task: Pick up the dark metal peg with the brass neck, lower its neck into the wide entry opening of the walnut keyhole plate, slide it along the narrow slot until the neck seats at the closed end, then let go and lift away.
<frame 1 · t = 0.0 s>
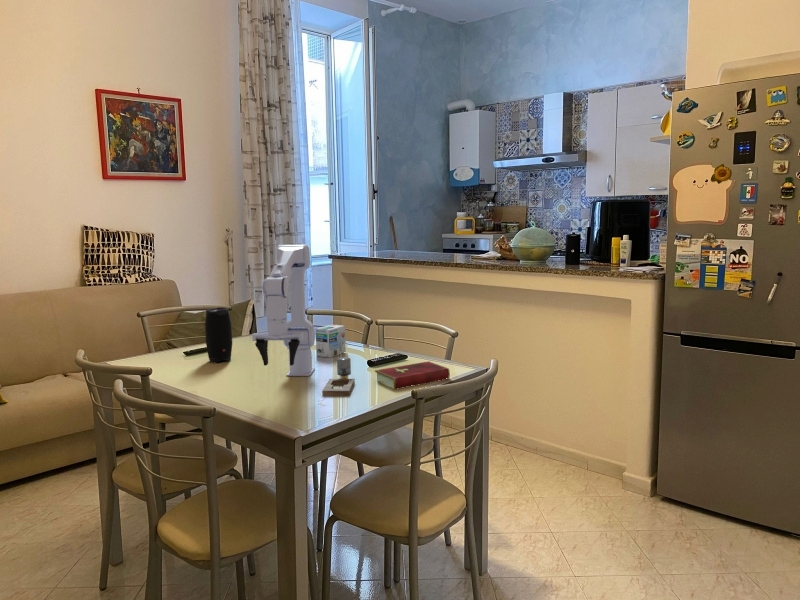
hand: (279, 364, 177), 10 cm above the table, tool pointing down, fingers open, 7 cm apart
peg: (344, 379, 198), on the table
hardcover book: (412, 381, 196), on the table
light bulb box: (331, 354, 233), on the table
portable speaker: (220, 361, 225), on the table
keyhole plate: (339, 389, 186), on the table
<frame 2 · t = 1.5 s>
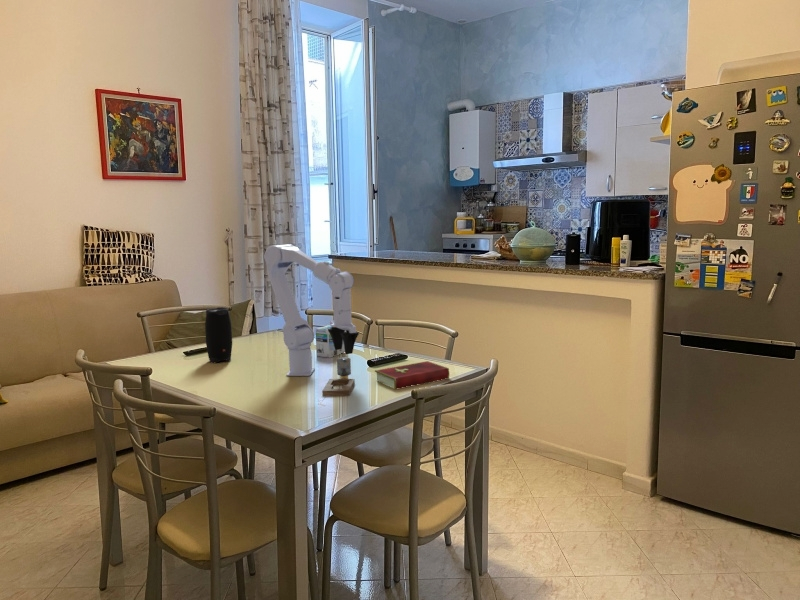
hand: (343, 351, 196), 9 cm above the table, tool pointing down, fingers open, 7 cm apart
nothing on the table moved.
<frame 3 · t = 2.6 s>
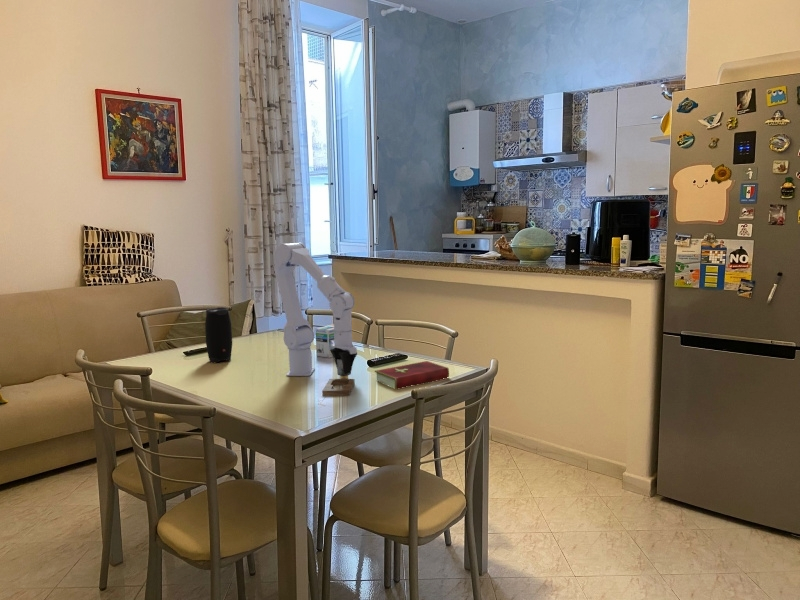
hand: (344, 371, 197), 3 cm above the table, tool pointing down, fingers closed on peg, 4 cm apart
peg: (344, 379, 198), on the table, touching gripper
everything else where it was.
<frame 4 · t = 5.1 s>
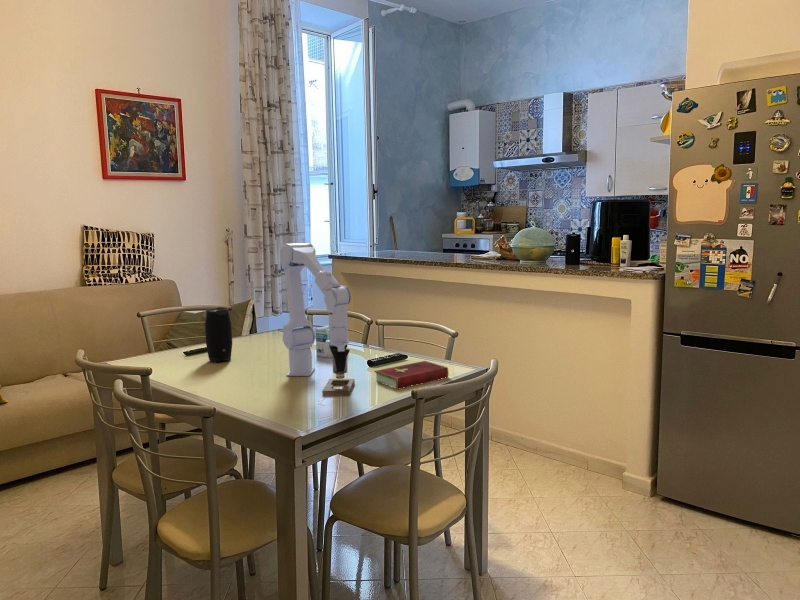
hand: (339, 369, 188), 6 cm above the table, tool pointing down, fingers closed on peg, 4 cm apart
peg: (340, 377, 188), point 3 cm above the table, touching gripper
everything else where it was.
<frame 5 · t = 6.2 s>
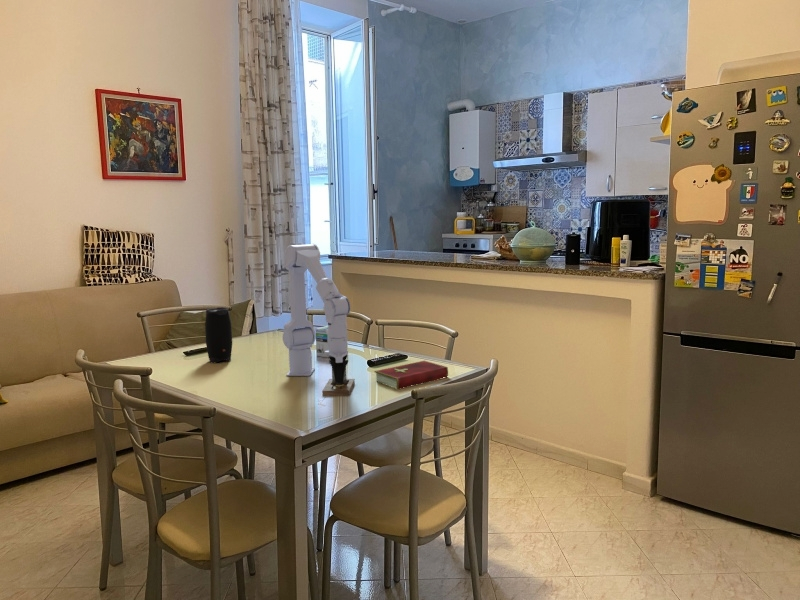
hand: (339, 380, 186), 3 cm above the table, tool pointing down, fingers closed on peg, 4 cm apart
peg: (339, 388, 186), resting in keyhole plate, touching gripper
everything else where it was.
when the fingers open (3 cm above the table, at t = 7.4 s): peg stays where it is, resting in keyhole plate.
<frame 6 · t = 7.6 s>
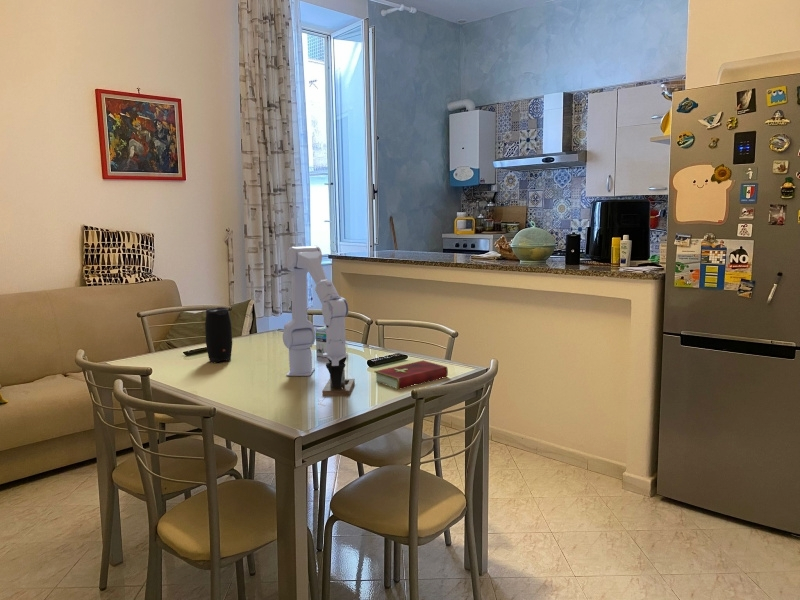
hand: (337, 383, 183), 3 cm above the table, tool pointing down, fingers open, 6 cm apart
peg: (337, 392, 183), resting in keyhole plate
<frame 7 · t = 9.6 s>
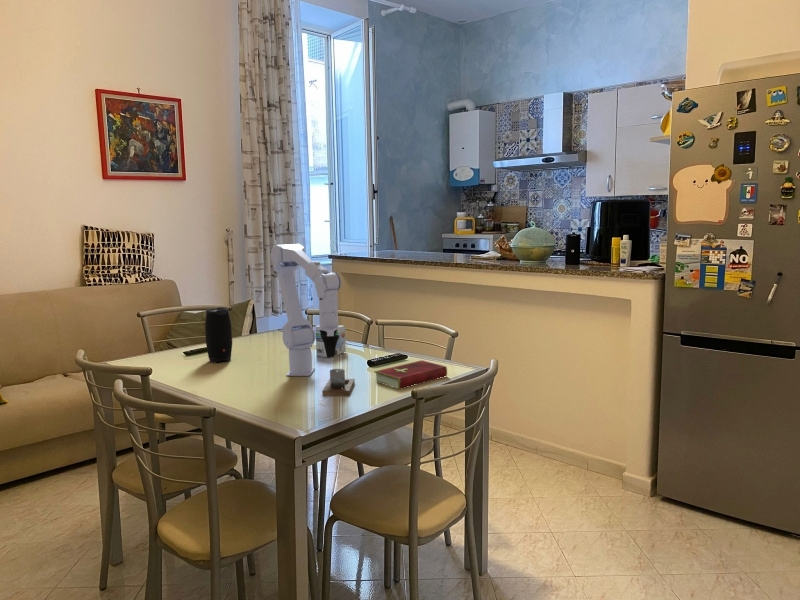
hand: (329, 354, 191), 10 cm above the table, tool pointing down, fingers open, 7 cm apart
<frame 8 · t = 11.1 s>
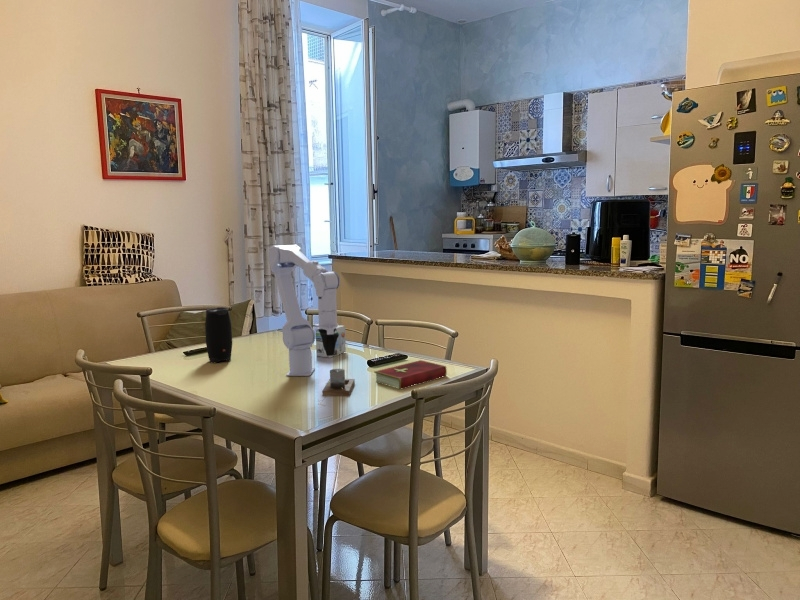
hand: (328, 352, 192), 10 cm above the table, tool pointing down, fingers open, 7 cm apart
at the end: peg 0.1 cm from the target spot on the keyhole plate, point 0.0 cm above the keyhole plate's base; peg tilted 0°; the gripper is holding nothing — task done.
